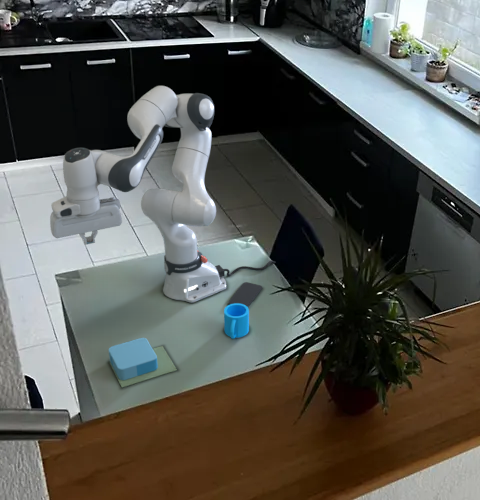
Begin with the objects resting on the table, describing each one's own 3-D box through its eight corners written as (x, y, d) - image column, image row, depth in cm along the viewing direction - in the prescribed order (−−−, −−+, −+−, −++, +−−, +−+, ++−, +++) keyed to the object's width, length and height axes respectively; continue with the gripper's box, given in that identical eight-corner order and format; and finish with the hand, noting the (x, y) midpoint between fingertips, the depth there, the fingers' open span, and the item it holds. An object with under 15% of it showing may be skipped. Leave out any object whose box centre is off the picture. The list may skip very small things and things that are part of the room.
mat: (162, 346, 224) (162, 345, 224) (176, 370, 215) (176, 369, 215) (109, 362, 215) (109, 361, 215) (121, 387, 206) (121, 387, 206)
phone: (263, 285, 256) (246, 307, 243) (263, 287, 256) (246, 309, 244) (244, 281, 257) (227, 303, 245) (244, 283, 258) (227, 305, 245)
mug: (227, 321, 237) (226, 302, 233) (250, 323, 237) (250, 304, 233) (219, 343, 227) (219, 323, 223) (244, 346, 227) (244, 326, 223)
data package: (108, 358, 216) (120, 381, 208) (106, 347, 214) (118, 370, 206) (146, 347, 222) (159, 369, 214) (145, 336, 220) (158, 358, 212)
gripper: (116, 191, 212) (120, 231, 219) (45, 204, 202) (52, 245, 209) (122, 200, 208) (126, 240, 215) (50, 214, 198) (57, 255, 205)
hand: (89, 242), depth 212 cm, fingers closed
